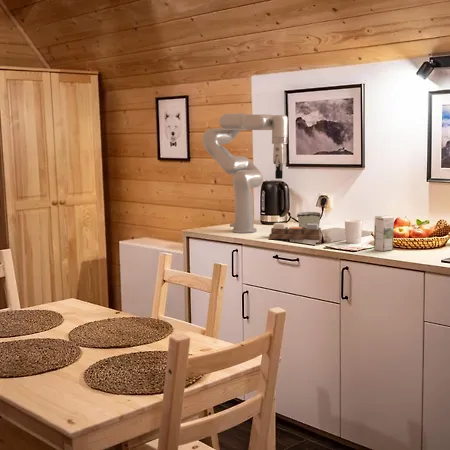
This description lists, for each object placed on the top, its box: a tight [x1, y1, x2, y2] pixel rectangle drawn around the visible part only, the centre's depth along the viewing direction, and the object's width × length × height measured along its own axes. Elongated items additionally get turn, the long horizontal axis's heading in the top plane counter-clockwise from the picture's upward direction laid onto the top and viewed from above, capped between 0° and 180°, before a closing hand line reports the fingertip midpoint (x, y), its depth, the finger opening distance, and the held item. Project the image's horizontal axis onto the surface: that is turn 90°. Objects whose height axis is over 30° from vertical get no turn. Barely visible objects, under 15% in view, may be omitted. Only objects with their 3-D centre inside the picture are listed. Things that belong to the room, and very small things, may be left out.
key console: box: [268, 226, 323, 241], centre depth 331 cm, size 24×10×5 cm, turn 74°
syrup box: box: [373, 215, 395, 252], centre depth 291 cm, size 6×6×14 cm
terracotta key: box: [289, 226, 302, 229], centre depth 331 cm, size 5×5×3 cm
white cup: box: [344, 219, 364, 244], centre depth 313 cm, size 8×8×10 cm
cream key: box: [273, 222, 287, 229], centre depth 333 cm, size 5×5×3 cm
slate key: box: [307, 223, 320, 229], centre depth 328 cm, size 5×5×3 cm
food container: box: [296, 211, 322, 229], centre depth 349 cm, size 12×6×10 cm, turn 84°
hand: (278, 178), depth 337 cm, fingers closed
